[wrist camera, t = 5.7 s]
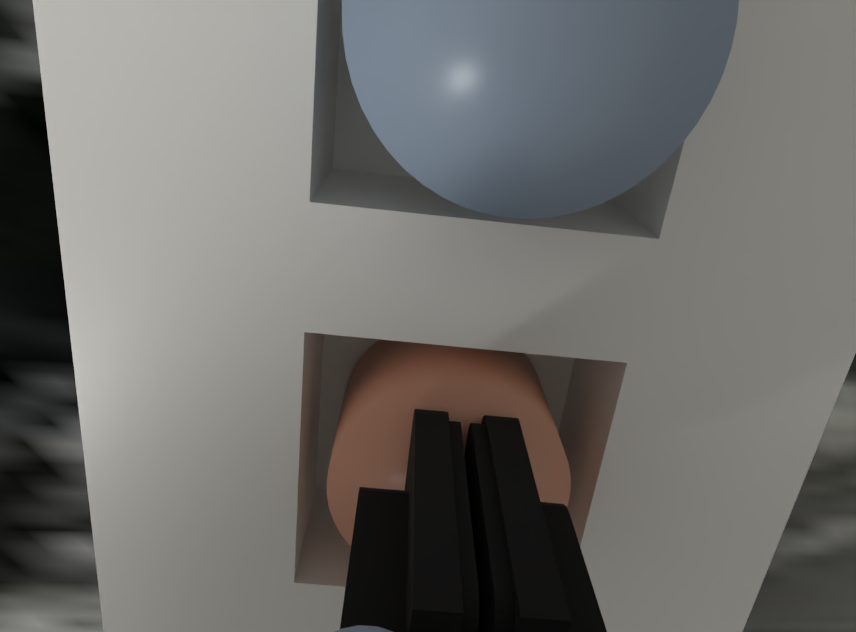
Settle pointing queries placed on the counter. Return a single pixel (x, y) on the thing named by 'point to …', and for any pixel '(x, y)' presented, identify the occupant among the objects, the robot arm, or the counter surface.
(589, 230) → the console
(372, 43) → the button slate
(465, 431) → the button terracotta
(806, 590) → the counter surface
